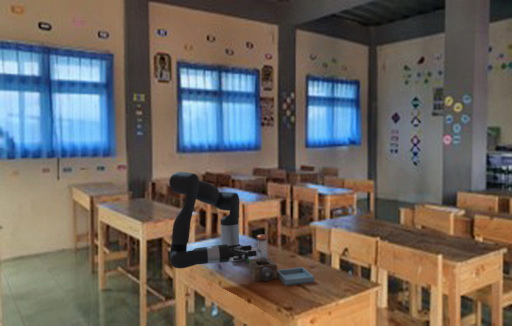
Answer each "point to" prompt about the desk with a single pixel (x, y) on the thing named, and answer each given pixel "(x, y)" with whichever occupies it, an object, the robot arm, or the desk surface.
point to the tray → (295, 276)
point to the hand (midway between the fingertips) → (253, 250)
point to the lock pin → (262, 249)
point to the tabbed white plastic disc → (244, 255)
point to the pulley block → (263, 270)
